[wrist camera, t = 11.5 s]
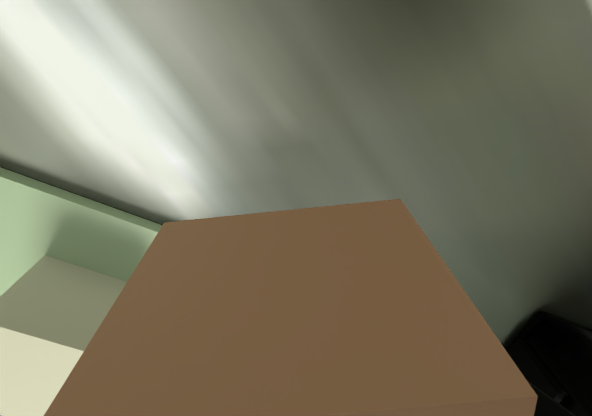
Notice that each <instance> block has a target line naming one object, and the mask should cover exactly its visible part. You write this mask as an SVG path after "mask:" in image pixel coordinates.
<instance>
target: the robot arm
mask: <svg viewBox="0 0 592 416" xmlns="http://www.w3.org/2000/svg"><path fill="white" fill-rule="evenodd" d="M543 320H544V321H543ZM542 321H543V322H542ZM506 351H507V353H508V354H509V356H510V357H511V359H512V360H513V361H514V363H515V364H516V366H517V367H518V369H519V370H520V371H521V373H522V374H523V376H524V377H525V379H526V380H527V381H528V383H529V384H530V386H531V387H532V389H533V390H534V391H535V393H536V394H537V396H538V398H537V403H536V408H535V413H534V416H592V330H591V329H588V328H586V327H583V326H581V325H578V324H575V323H573V322H570V321H568V320H565V319H562V318H560V317H557V316H555V315H552V314H549V313H547V312H539V313H537V314H536V315H534V317H533V318H532V319H531V320H530V321H529V323H528V324H527V325H526V326H525V328H524V329H523V330H522V331H521V333H520V334H519V335H518V336H517V337H516V339H515V340H514V341H513V342H512V344H511V345H510V346H509V347H508V349H507V350H506Z"/></svg>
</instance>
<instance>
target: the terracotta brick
mask: <svg viewBox="0 0 592 416" xmlns="http://www.w3.org/2000/svg"><path fill="white" fill-rule="evenodd" d="M537 398H538V396H537V394H536V393H535V391H534V390H533V389H532V387H531V386H530V384H529V383H528V381H527V380H526V379H525V377H524V376H523V374H522V373H521V371H520V370H519V369H518V367H517V366H516V364H515V363H514V361H513V360H512V359H511V357H510V356H509V354H508V353H507V351H506V350H505V348H504V347H503V346H502V344H501V343H500V341H499V340H498V338H497V337H496V336H495V334H494V333H493V331H492V330H491V328H490V327H489V326H488V324H487V323H486V321H485V320H484V318H483V317H482V315H481V314H480V313H479V311H478V310H477V308H476V307H475V305H474V304H473V303H472V301H471V300H470V298H469V297H468V295H467V294H466V293H465V291H464V290H463V288H462V287H461V285H460V284H459V282H458V281H457V280H456V278H455V277H454V275H453V274H452V272H451V271H450V270H449V268H448V267H447V265H446V264H445V262H444V261H443V260H442V258H441V257H440V255H439V254H438V252H437V251H436V250H435V248H434V247H433V245H432V244H431V242H430V241H429V239H428V238H427V237H426V235H425V234H424V232H423V231H422V229H421V228H420V227H419V225H418V224H417V222H416V221H415V219H414V218H413V217H412V215H411V214H410V212H409V211H408V209H407V208H406V206H405V205H404V204H403V202H402V201H401V199H394V200H384V201H374V202H364V203H355V204H344V205H335V206H324V207H315V208H305V209H295V210H285V211H275V212H265V213H255V214H245V215H235V216H225V217H215V218H205V219H195V220H185V221H175V222H165V223H164V224H163V225H162V227H161V229H160V230H159V232H158V233H157V235H156V237H155V238H154V240H153V241H152V243H151V245H150V246H149V248H148V249H147V251H146V253H145V254H144V256H143V257H142V259H141V261H140V262H139V264H138V265H137V267H136V269H135V270H134V272H133V273H132V275H131V277H130V278H129V280H128V281H127V283H126V285H125V286H124V288H123V289H122V291H121V293H120V294H119V296H118V297H117V299H116V301H115V302H114V304H113V305H112V307H111V309H110V310H109V312H108V313H107V315H106V317H105V318H104V320H103V321H102V323H101V325H100V326H99V328H98V329H97V331H96V333H95V334H94V336H93V337H92V339H91V341H90V342H89V344H88V345H87V347H86V349H85V350H84V352H83V354H82V355H81V357H80V358H79V360H78V362H77V363H76V365H75V366H74V368H73V370H72V371H71V373H70V374H69V376H68V378H67V379H66V381H65V382H64V384H63V386H62V387H61V389H60V390H59V392H58V394H57V395H56V397H55V398H54V400H53V402H52V403H51V405H50V406H49V408H48V410H47V411H46V413H45V414H44V416H534V413H535V408H536V403H537Z"/></svg>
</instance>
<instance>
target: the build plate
mask: <svg viewBox="0 0 592 416" xmlns="http://www.w3.org/2000/svg"><path fill="white" fill-rule="evenodd" d="M161 227H162V225H160V224H157V223H155V222H152V221H149V220H146V219H143V218H141V217H138V216H135V215H132V214H129V213H127V212H124V211H121V210H118V209H115V208H113V207H110V206H107V205H104V204H101V203H99V202H96V201H93V200H90V199H87V198H85V197H82V196H79V195H76V194H73V193H71V192H68V191H65V190H62V189H59V188H57V187H54V186H51V185H48V184H45V183H43V182H40V181H37V180H34V179H31V178H29V177H26V176H23V175H20V174H18V173H15V172H12V171H9V170H6V169H4V168H1V167H0V296H1V295H2V294H3V293H5V292H6V291H7V290H8V289H9V288H10V287H11V286H12V285H13V284H14V283H15V282H16V281H17V280H19V279H20V278H21V277H22V276H23V275H24V274H25V273H26V272H27V271H28V270H29V269H30V268H32V267H33V266H34V265H35V264H36V263H37V262H38V261H39V260H40V259H41V258H42V257H43V256H45V255H46V256H49V257H52V258H55V259H58V260H61V261H64V262H67V263H70V264H73V265H76V266H79V267H83V268H86V269H89V270H92V271H95V272H98V273H101V274H104V275H107V276H110V277H113V278H116V279H119V280H122V281H125V282H127V281H128V280H129V278H130V277H131V275H132V273H133V272H134V270H135V269H136V267H137V265H138V264H139V262H140V261H141V259H142V257H143V256H144V254H145V253H146V251H147V249H148V248H149V246H150V245H151V243H152V241H153V240H154V238H155V237H156V235H157V233H158V232H159V230H160V229H161Z"/></svg>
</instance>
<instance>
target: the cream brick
mask: <svg viewBox="0 0 592 416" xmlns="http://www.w3.org/2000/svg"><path fill="white" fill-rule="evenodd" d="M126 283H127V282H125V281H122V280H119V279H116V278H113V277H110V276H107V275H104V274H101V273H98V272H95V271H92V270H89V269H86V268H83V267H79V266H76V265H73V264H70V263H67V262H64V261H61V260H58V259H55V258H52V257H49V256H46V255H45V256H43V257H42V258H41V259H40V260H39V261H38V262H37V263H36V264H35V265H34V266H33V267H32V268H30V269H29V270H28V271H27V272H26V273H25V274H24V275H23V276H22V277H21V278H20V279H19V280H17V281H16V282H15V283H14V284H13V285H12V286H11V287H10V288H9V289H8V290H7V291H6V292H5V293H3V294H2V295H1V296H0V415H2V416H44V414H45V413H46V411H47V410H48V408H49V406H50V405H51V403H52V402H53V400H54V398H55V397H56V395H57V394H58V392H59V390H60V389H61V387H62V386H63V384H64V382H65V381H66V379H67V378H68V376H69V374H70V373H71V371H72V370H73V368H74V366H75V365H76V363H77V362H78V360H79V358H80V357H81V355H82V354H83V352H84V350H85V349H86V347H87V345H88V344H89V342H90V341H91V339H92V337H93V336H94V334H95V333H96V331H97V329H98V328H99V326H100V325H101V323H102V321H103V320H104V318H105V317H106V315H107V313H108V312H109V310H110V309H111V307H112V305H113V304H114V302H115V301H116V299H117V297H118V296H119V294H120V293H121V291H122V289H123V288H124V286H125V285H126Z"/></svg>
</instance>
